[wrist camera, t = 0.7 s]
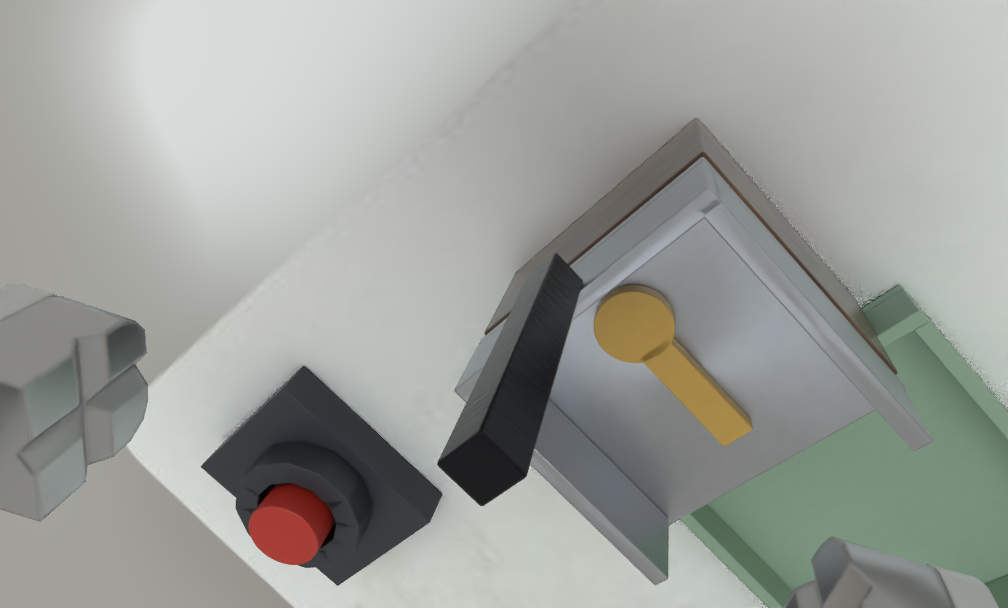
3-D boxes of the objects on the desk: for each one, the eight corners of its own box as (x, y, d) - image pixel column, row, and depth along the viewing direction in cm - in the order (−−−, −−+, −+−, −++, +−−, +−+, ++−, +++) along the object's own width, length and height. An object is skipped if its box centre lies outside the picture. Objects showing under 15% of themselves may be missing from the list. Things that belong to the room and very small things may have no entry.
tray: (641, 447, 33) (639, 480, 31) (899, 283, 28) (919, 310, 26) (837, 645, 36) (848, 688, 34) (1111, 532, 30) (1146, 576, 28)
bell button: (253, 504, 36) (234, 528, 34) (293, 471, 34) (275, 494, 32) (305, 550, 36) (289, 576, 35) (347, 519, 35) (331, 544, 33)
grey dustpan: (457, 315, 25) (298, 566, 14) (676, 125, 21) (683, 281, 10) (662, 519, 27) (655, 877, 16) (902, 382, 23) (1110, 745, 12)
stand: (515, 272, 31) (482, 333, 26) (697, 116, 27) (703, 150, 21) (662, 424, 33) (661, 511, 27) (856, 300, 28) (899, 374, 23)
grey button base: (223, 442, 39) (179, 488, 36) (304, 365, 36) (263, 407, 32) (353, 557, 41) (323, 612, 37) (442, 494, 37) (418, 548, 34)
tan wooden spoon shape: (579, 315, 23) (576, 323, 23) (639, 268, 22) (638, 276, 22) (706, 447, 24) (707, 457, 24) (769, 409, 23) (772, 419, 23)
